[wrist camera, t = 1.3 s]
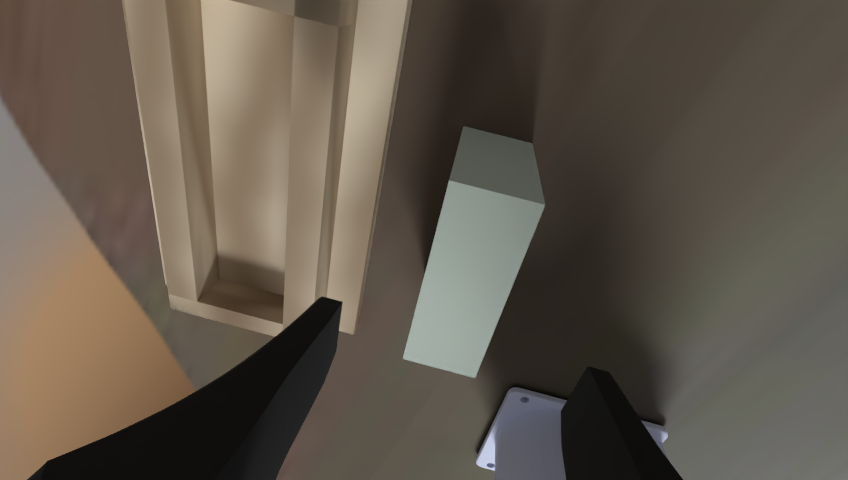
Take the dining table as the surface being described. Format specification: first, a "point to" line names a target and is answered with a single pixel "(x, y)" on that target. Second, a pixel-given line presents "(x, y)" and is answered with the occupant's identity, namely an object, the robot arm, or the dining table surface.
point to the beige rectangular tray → (266, 148)
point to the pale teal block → (475, 250)
